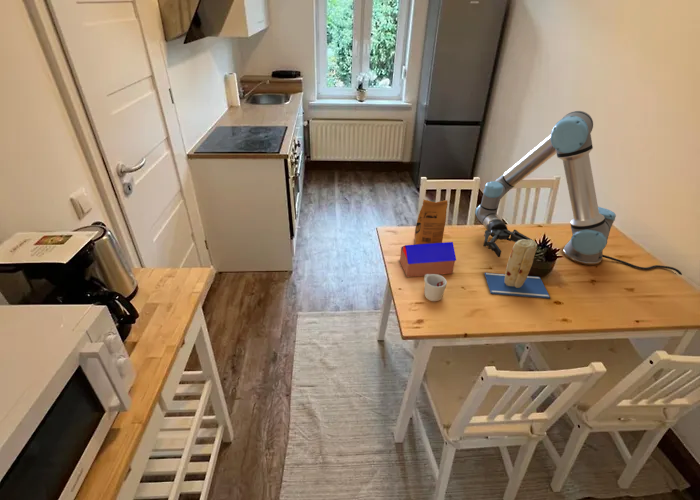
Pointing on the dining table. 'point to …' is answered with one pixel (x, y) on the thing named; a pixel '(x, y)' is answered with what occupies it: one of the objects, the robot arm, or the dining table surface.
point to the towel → (528, 289)
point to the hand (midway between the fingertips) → (516, 253)
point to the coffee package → (431, 222)
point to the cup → (434, 286)
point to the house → (428, 259)
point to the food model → (520, 262)
